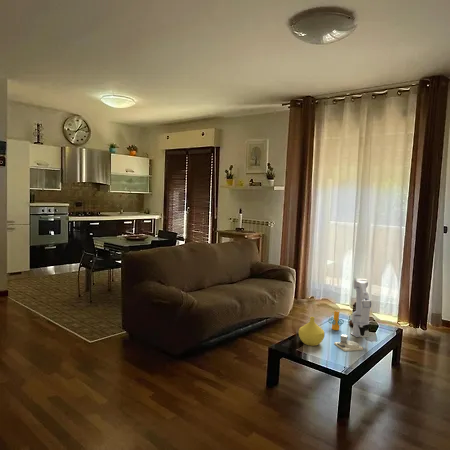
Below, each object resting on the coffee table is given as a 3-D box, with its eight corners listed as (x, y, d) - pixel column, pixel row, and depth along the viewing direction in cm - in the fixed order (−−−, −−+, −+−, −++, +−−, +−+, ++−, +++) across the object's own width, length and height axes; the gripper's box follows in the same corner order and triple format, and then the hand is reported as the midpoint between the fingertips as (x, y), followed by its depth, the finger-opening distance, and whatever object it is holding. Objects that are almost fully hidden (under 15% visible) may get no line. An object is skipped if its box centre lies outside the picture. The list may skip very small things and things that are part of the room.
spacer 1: (341, 340, 280) (342, 334, 280) (347, 342, 279) (347, 335, 278) (340, 342, 277) (340, 335, 277) (346, 343, 275) (346, 337, 275)
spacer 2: (364, 335, 281) (364, 328, 281) (367, 337, 277) (368, 330, 277) (359, 335, 280) (359, 328, 279) (362, 337, 276) (363, 330, 276)
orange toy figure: (341, 327, 316) (343, 309, 315) (344, 332, 306) (345, 313, 304) (326, 326, 317) (327, 308, 316) (328, 330, 307) (330, 312, 305)
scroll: (362, 322, 330) (364, 300, 328) (370, 329, 315) (372, 305, 313) (346, 322, 329) (347, 299, 327) (352, 328, 314) (354, 304, 312)
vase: (305, 336, 292) (306, 311, 291) (328, 343, 281) (329, 317, 279) (293, 343, 278) (294, 317, 276) (316, 350, 266) (318, 323, 265)
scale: (352, 342, 284) (352, 339, 284) (363, 349, 272) (363, 346, 271) (334, 343, 280) (334, 340, 280) (344, 351, 267) (344, 347, 267)
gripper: (363, 312, 285) (361, 330, 287) (355, 317, 274) (354, 335, 275) (372, 314, 281) (371, 333, 282) (365, 319, 270) (364, 338, 271)
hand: (363, 334), depth 278 cm, fingers closed on spacer 2, 5 cm apart
